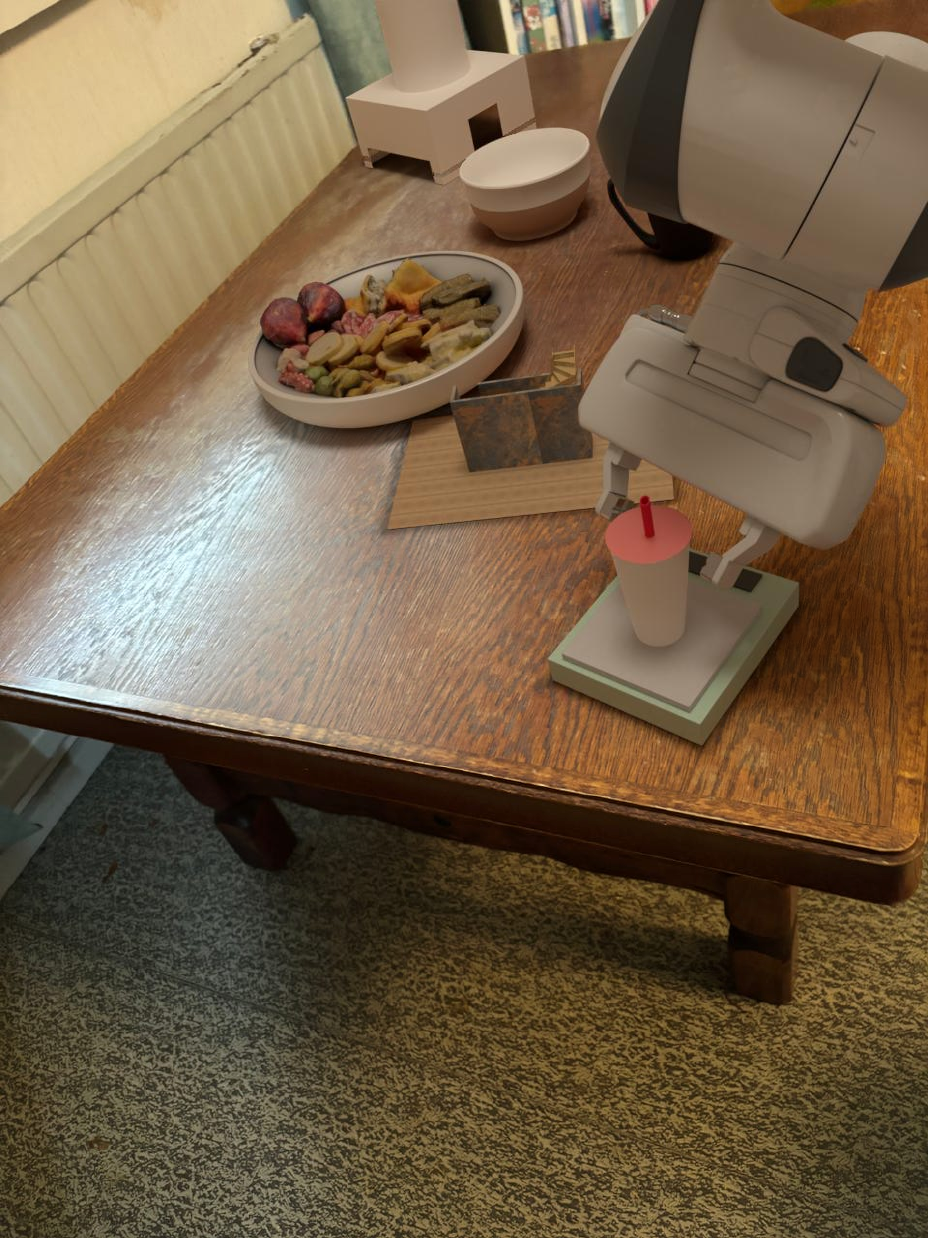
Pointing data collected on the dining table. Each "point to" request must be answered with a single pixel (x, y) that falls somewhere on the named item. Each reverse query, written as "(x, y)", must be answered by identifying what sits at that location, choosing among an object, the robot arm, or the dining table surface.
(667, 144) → the robot arm
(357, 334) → the bowl
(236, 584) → the dining table surface
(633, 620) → the cup
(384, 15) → the paper towel holder
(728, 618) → the scale
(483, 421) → the ruin model on sheet
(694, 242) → the mug
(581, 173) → the bowl
